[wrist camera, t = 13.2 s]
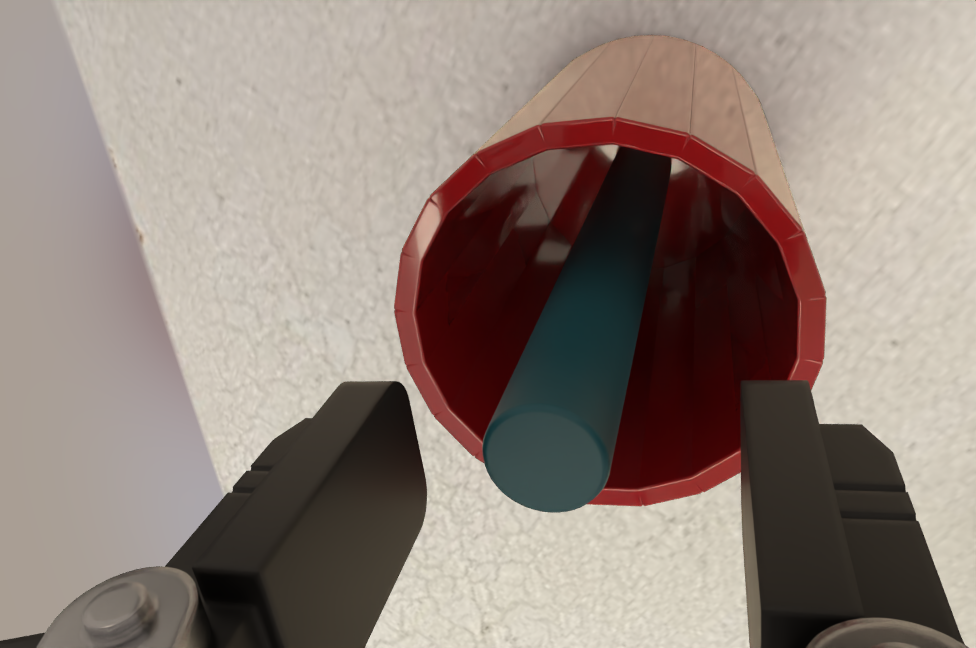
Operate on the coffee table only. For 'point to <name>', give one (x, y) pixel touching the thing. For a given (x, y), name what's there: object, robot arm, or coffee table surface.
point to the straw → (581, 349)
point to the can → (674, 274)
